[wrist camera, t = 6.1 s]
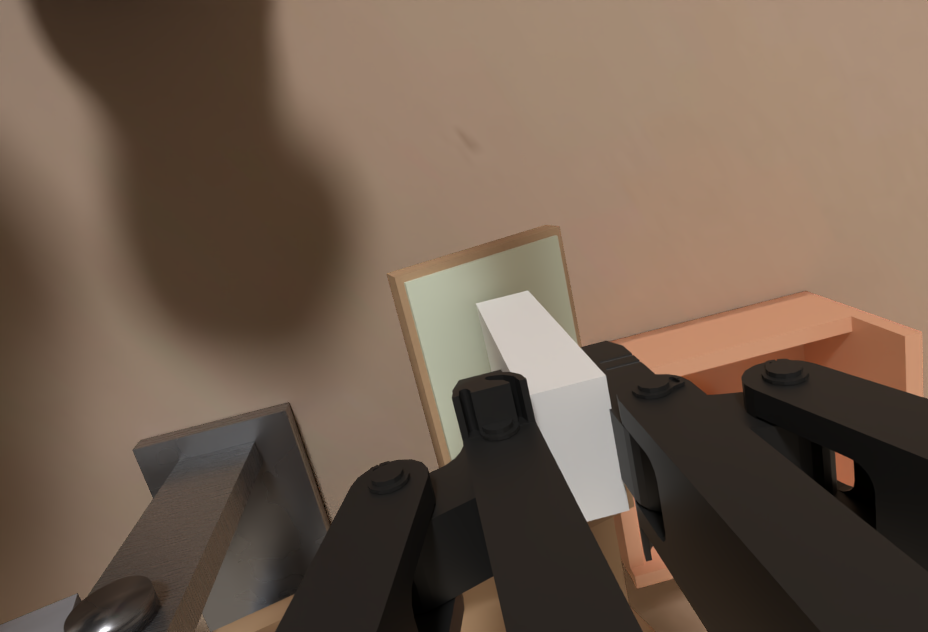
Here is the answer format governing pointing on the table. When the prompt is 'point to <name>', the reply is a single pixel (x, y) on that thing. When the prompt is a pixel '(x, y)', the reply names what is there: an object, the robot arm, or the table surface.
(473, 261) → the lever
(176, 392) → the table surface
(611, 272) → the table surface
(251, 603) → the bracket
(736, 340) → the pink open box
